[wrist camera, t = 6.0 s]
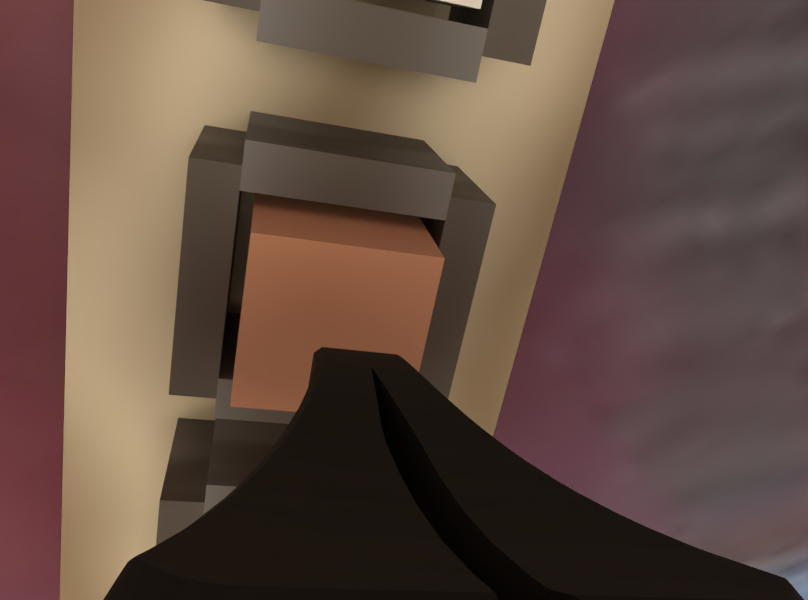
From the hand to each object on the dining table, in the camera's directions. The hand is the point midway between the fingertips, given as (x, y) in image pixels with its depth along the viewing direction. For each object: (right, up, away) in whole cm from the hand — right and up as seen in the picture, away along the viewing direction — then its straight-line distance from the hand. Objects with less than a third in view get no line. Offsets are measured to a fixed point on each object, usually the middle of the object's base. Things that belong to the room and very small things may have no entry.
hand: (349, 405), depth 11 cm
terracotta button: (-1, +2, +5) cm, 6 cm away
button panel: (-2, +4, +8) cm, 9 cm away
